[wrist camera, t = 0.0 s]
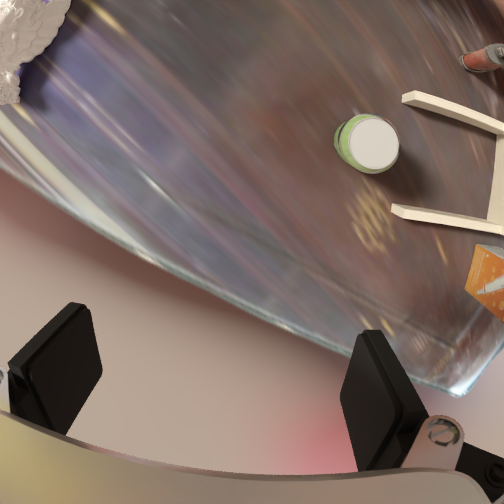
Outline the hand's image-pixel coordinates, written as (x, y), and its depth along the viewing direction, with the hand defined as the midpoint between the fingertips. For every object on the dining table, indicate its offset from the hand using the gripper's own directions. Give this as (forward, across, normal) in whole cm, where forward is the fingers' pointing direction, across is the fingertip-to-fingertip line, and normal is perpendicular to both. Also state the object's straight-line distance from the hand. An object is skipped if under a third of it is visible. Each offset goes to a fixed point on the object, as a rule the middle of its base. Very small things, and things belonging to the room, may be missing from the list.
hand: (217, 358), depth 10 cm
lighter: (+31, -33, -27) cm, 53 cm away
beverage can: (+31, -12, -9) cm, 35 cm away
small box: (+31, -39, +6) cm, 50 cm away
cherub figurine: (+32, +39, -26) cm, 57 cm away
